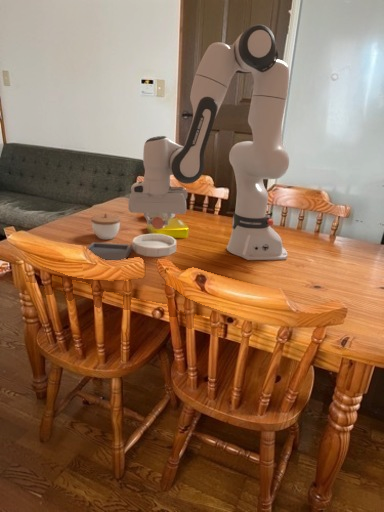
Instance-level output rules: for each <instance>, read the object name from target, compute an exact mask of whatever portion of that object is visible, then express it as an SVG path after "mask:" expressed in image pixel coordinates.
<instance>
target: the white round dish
mask: <svg viewBox="0 0 384 512" xmlns="http://www.w3.org/2000/svg"><path fill="white" fill-rule="evenodd" d="M132 250H133V251H134V252H135V254H137V255H141V256H144V257H151V258H154V257H155V258H160V257H168V256H171V255H173V254H175V253H176V251H177V239H174V238H173V237H171V236H167V235H162V234H150V233H146V234H145V233H144V234H140V235H138V236H135V237H134V238H133V240H132Z"/></svg>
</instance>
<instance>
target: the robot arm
mask: <svg viewBox="0 0 384 512" xmlns="http://www.w3.org/2000/svg"><path fill="white" fill-rule="evenodd" d="M275 39H276V38H275V36H274V34H273V31H272V30H271V29H270V28H269V27H268V26H266V25H263V24H254V25H251V26H248V27H247V28H245V30H244V31H243V32H241V34H240V35H239V36H238V37H237V38H236V40H235V41H234V42H233V43H232V44H227V43H224V42H221V41H220V42H219V41H218V42H212V43H211V44H210V45H209V46H208V47H207V49H206V51H205V52H204V54H203V56H202V58H201V60H200V62H199V64H198V66H197V69H196V72H195V75H194V78H193V81H192V86H191V89H190V94H189V96H190V97H189V99H190V100H189V101H190V103H191V107H192V121H191V124H190V128H189V130H188V132H187V136H186V141H185V143H184V145H182V144H178V143H176V142H174V141H173V140H171V139H170V138H169V137H167V136H165V135H160V136H153V137H149V138H148V139H146V140H145V142H144V145H143V156H142V157H143V158H142V159H143V168H144V174H143V180H140V181H137V182H134V183H133V184H132V185H131V187H130V192H131V193H130V195H129V197H128V202H127V203H128V208H127V209H128V211H129V212H130V213H132V214H135V213H136V214H143V217H144V218H145V220H146V226H147V225H152V219H150V218H149V217H148V214H149V213H165V214H167V216H168V218H167V219H165V220H164V225H169V219H170V218H171V215H172V214H175V215H184V214H186V212H187V199H188V190H187V189H186V188H184V187H183V186H171V176H172V175H173V177H174V179H176V180H177V181H178V182H180V183H182V184H192V183H195V182H197V181H198V180H199V179H200V178H201V177H202V176H203V173H204V169H205V161H204V160H205V159H204V158H205V157H204V155H205V150H206V147H207V144H208V141H209V137H210V136H211V135H210V134H211V132H212V129H213V125H214V123H215V121H216V120H215V119H216V117H217V116H218V113H219V111H220V108H221V106H222V104H223V102H224V99H225V98H226V95H227V92H228V89H229V86H230V84H231V81H232V79H233V76H234V75H235V74H237V73H238V74H250V73H251V74H252V77H253V89H252V94H251V99H250V100H251V101H250V105H249V111H248V118H247V123H248V125H249V127H250V129H251V132H252V140H246V141H240V142H237V143H236V144H234V145H233V146H232V147H231V149H230V151H229V155H228V158H229V159H228V160H229V163H230V165H231V167H232V169H233V172H234V176H235V183H236V198H235V199H236V203H235V208H234V209H235V211H234V212H233V216H232V223H231V226H232V227H231V228H232V230H231V234H230V238H229V241H228V243H227V246H226V250H227V251H228V252H229V253H231V254H233V255H235V256H238V257H241V258H243V260H244V259H245V260H247V261H258V260H259V261H260V260H261V261H263V260H267V261H268V260H271V261H273V260H275V261H277V260H286V259H287V258H288V251H287V250H286V249H285V247H283V240H282V237H281V236H280V234H278V232H276V230H275V229H273V228H272V227H271V226H273V225H274V220H273V219H272V218H271V217H269V216H268V215H267V208H268V201H269V193H268V191H267V189H266V187H265V185H264V180H277V179H280V178H282V177H283V176H285V174H286V173H287V171H288V169H289V165H290V157H289V155H288V152H287V151H286V148H285V147H284V142H283V134H282V133H283V132H282V131H283V130H282V128H283V126H282V125H283V118H284V113H285V107H286V103H287V97H288V93H289V92H288V91H289V84H290V82H289V81H290V67H289V66H288V64H287V63H286V62H285V61H283V60H281V59H278V58H279V52H278V49H277V46H276V40H275Z"/></svg>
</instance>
